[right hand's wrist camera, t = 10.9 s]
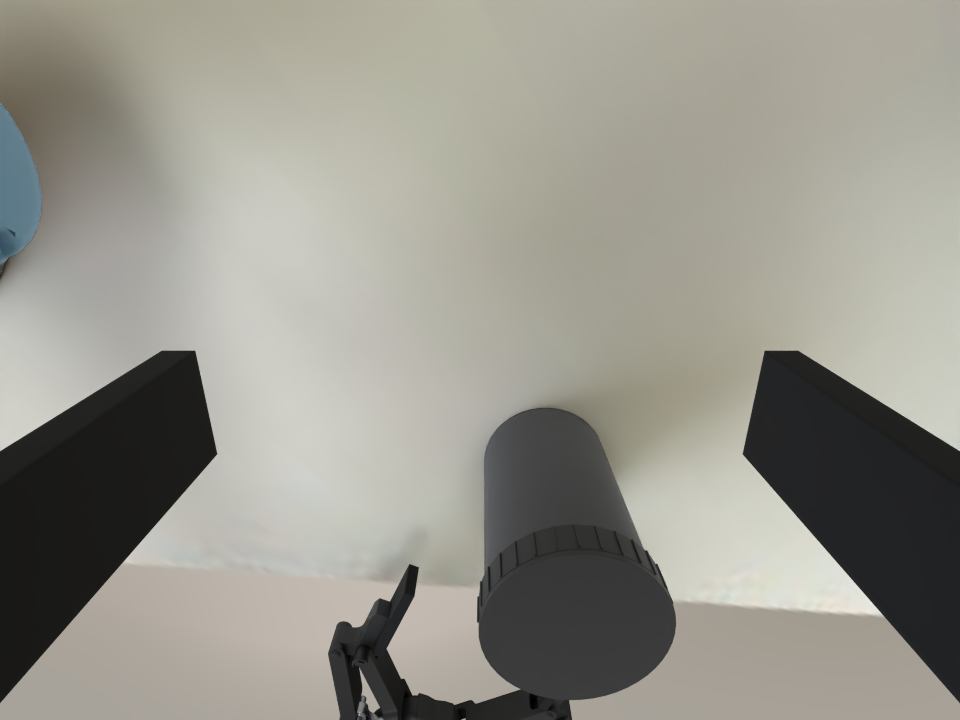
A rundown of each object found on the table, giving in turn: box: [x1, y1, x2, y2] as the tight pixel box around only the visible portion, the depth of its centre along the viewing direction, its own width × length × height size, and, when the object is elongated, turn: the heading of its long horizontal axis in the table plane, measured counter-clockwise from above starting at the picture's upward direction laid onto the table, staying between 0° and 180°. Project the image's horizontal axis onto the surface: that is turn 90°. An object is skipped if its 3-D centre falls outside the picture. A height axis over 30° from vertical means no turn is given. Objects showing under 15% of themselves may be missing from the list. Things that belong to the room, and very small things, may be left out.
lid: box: [477, 524, 676, 700], centre depth 28 cm, size 10×10×2 cm
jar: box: [484, 408, 643, 573], centre depth 34 cm, size 9×9×16 cm
